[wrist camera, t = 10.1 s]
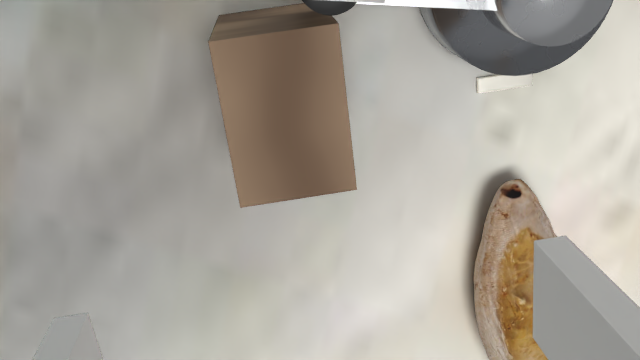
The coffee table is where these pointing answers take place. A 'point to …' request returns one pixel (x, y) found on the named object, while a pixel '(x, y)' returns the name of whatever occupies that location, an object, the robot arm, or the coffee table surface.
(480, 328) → the sweet potato
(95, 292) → the coffee table surface
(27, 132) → the coffee table surface
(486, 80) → the crank base
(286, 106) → the stop block
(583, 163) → the coffee table surface
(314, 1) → the crank
